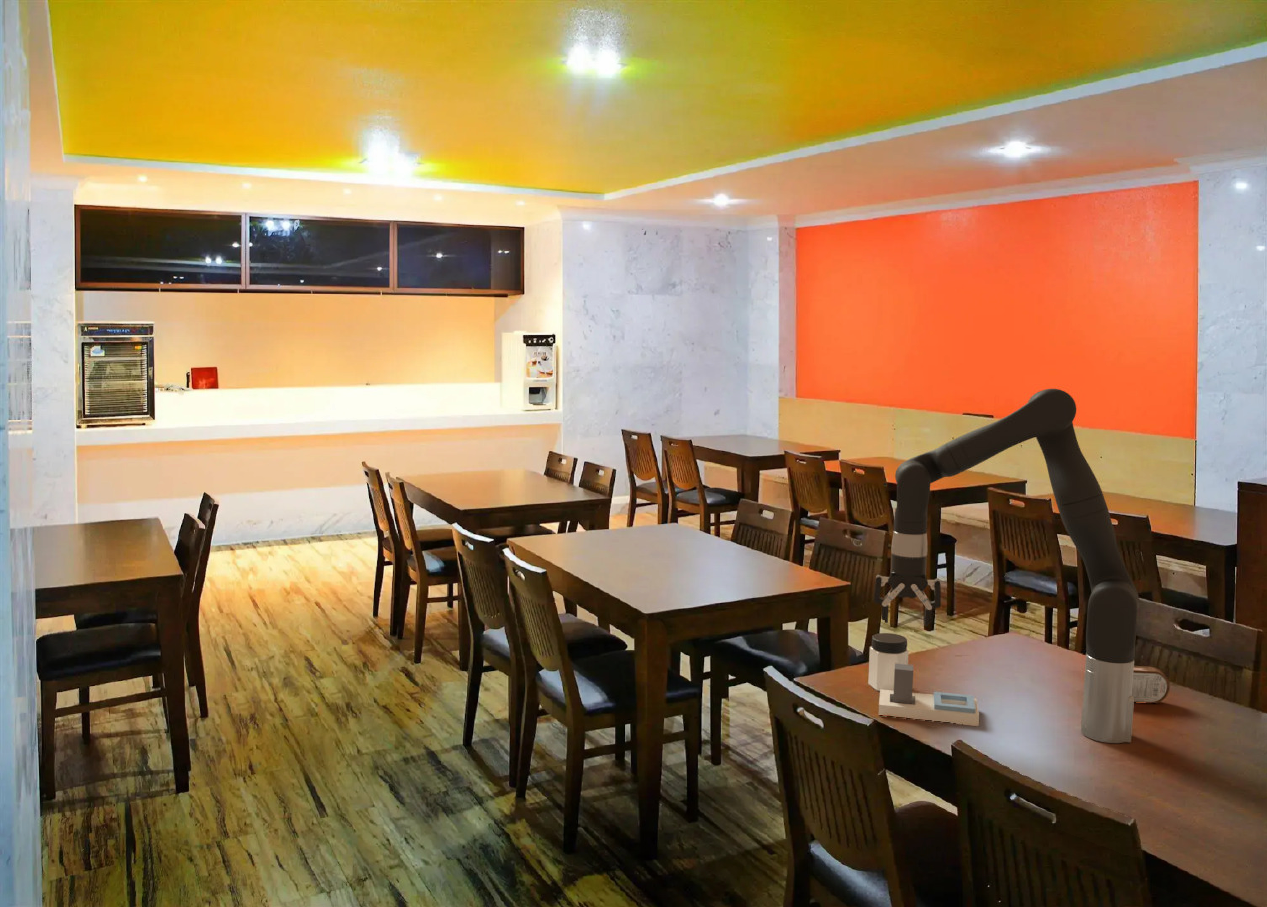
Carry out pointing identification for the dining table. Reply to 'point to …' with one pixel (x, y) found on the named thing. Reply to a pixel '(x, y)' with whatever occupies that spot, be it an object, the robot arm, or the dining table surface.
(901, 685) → the plug
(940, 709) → the socket block
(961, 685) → the dining table surface
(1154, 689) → the tin
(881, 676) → the jar
